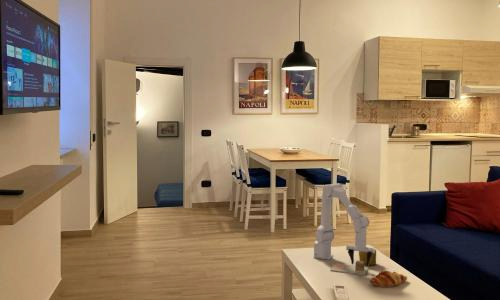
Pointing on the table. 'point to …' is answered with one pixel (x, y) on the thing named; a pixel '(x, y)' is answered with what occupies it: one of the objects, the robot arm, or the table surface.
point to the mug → (364, 257)
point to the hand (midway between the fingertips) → (360, 264)
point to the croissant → (388, 279)
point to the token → (359, 266)
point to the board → (347, 269)
